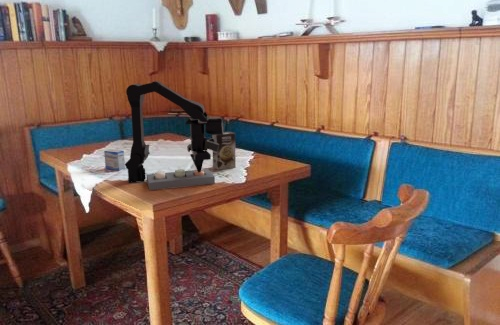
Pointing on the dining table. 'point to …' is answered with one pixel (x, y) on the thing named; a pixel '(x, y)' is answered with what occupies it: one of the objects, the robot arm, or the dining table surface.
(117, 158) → the medicine box
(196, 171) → the orange rounded piece
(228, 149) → the coffee box
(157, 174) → the cream button
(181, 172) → the sage button
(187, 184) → the button panel
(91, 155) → the dining table surface
